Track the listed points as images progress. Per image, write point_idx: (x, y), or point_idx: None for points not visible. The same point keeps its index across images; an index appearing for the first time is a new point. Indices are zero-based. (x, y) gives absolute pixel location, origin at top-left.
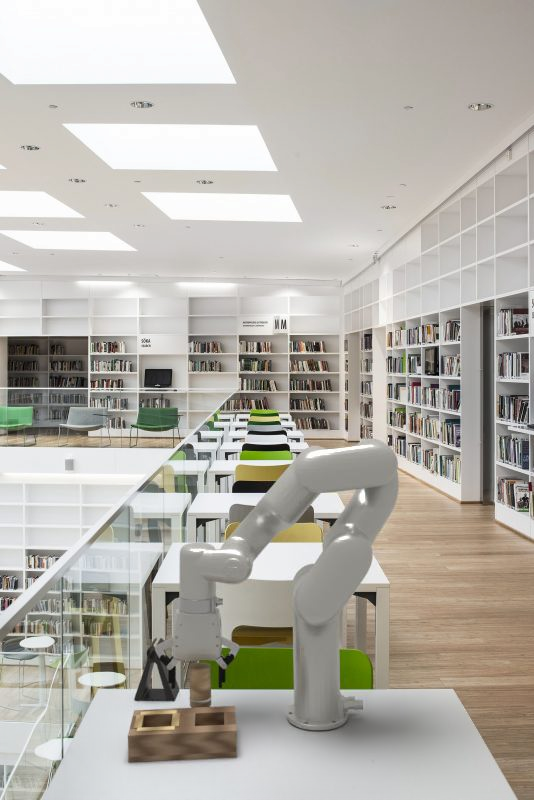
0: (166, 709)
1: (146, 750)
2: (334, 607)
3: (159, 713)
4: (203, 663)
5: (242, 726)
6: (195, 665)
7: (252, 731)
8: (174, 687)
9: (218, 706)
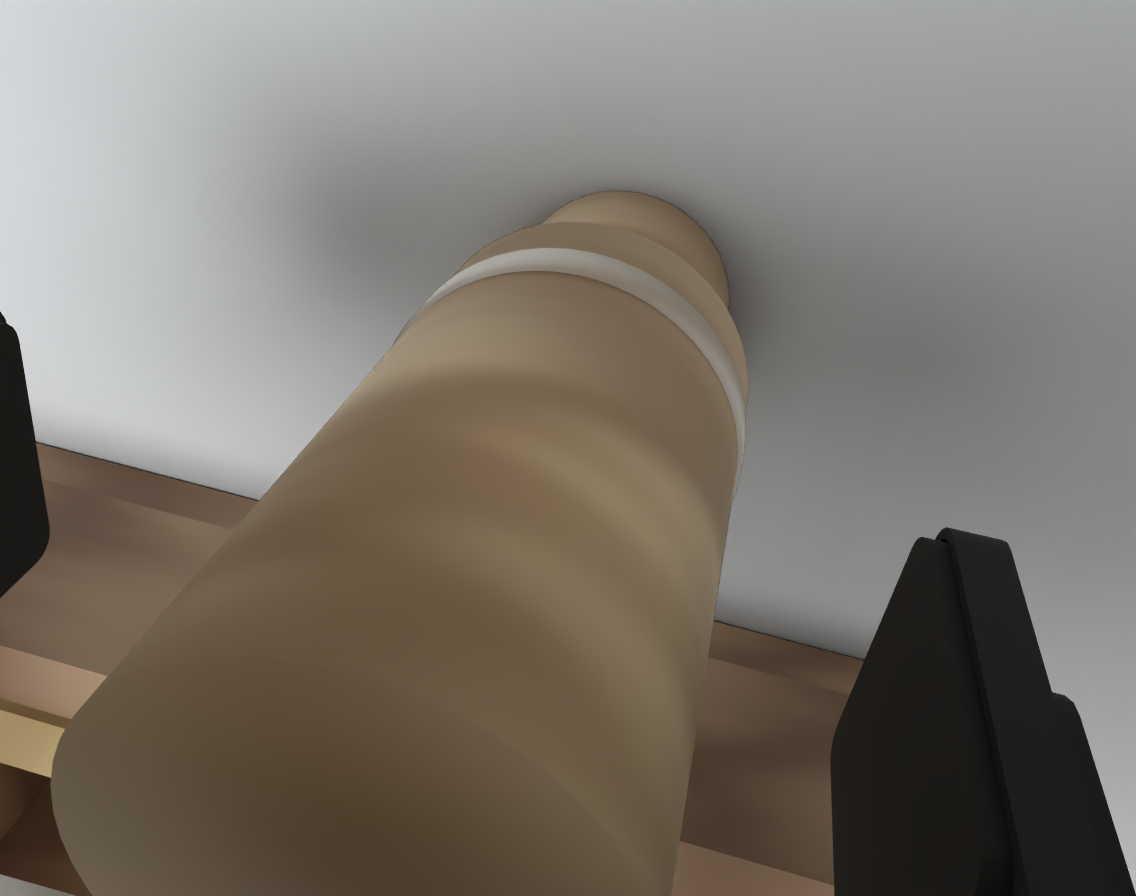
0: (93, 684)
1: None
2: None
3: (34, 767)
4: (463, 783)
5: (1052, 630)
6: (216, 802)
7: (1104, 753)
8: (30, 556)
9: (737, 854)
